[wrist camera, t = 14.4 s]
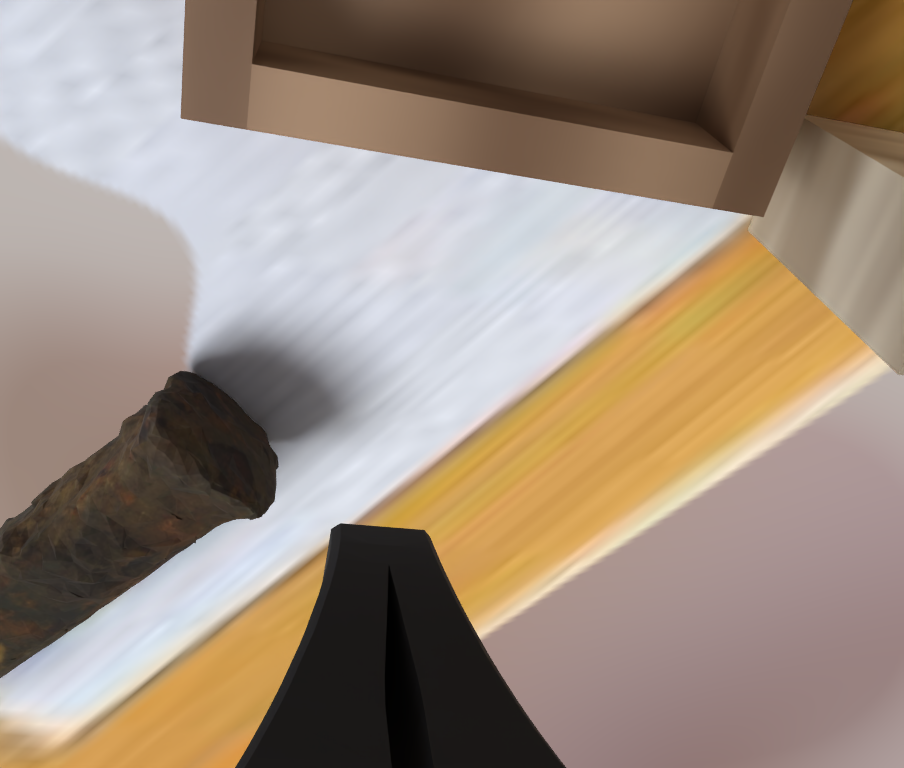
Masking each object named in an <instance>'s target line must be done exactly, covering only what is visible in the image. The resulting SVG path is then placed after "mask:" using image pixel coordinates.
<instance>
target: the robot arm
mask: <svg viewBox="0 0 904 768" xmlns="http://www.w3.org/2000/svg"><path fill="white" fill-rule="evenodd" d="M235 768H566V767H565V765H563V763H562V762H561V761H560V759H559V758H558V757H557V755H556V754H555V753H554V751H553V750H552V749H551V747H550V746H549V745H548V743H547V742H546V741H545V739H544V738H543V737H542V735H541V734H540V733H539V731H538V730H537V728H536V727H535V726H534V724H533V723H532V721H531V720H530V719H529V717H528V716H527V714H526V713H525V711H524V710H523V708H522V707H521V705H520V704H519V703H518V701H517V699H516V698H515V696H514V695H513V693H512V691H511V690H510V688H509V687H508V685H507V684H506V682H505V681H504V679H503V678H502V676H501V674H500V673H499V671H498V670H497V668H496V666H495V665H494V663H493V661H492V660H491V658H490V656H489V654H488V653H487V651H486V649H485V647H484V646H483V644H482V642H481V640H480V639H479V637H478V635H477V633H476V631H475V630H474V628H473V626H472V624H471V622H470V621H469V619H468V617H467V615H466V613H465V611H464V609H463V607H462V606H461V604H460V602H459V600H458V598H457V596H456V594H455V592H454V590H453V588H452V586H451V583H450V581H449V579H448V577H447V575H446V573H445V571H444V569H443V566H442V564H441V562H440V560H439V557H438V555H437V553H436V550H435V548H434V546H433V543H432V541H431V538H430V536H429V535H428V534H427V533H426V532H425V530H416V529H404V528H391V527H378V526H366V525H353V524H341V523H340V524H339V525H337V526H335V527H334V528H332V529H331V534H330V540H329V546H328V552H327V558H326V564H325V570H324V577H323V582H322V586H321V589H320V592H319V596H318V598H317V601H316V604H315V606H314V609H313V612H312V614H311V617H310V620H309V622H308V625H307V628H306V631H305V633H304V636H303V638H302V640H301V643H300V645H299V647H298V649H297V651H296V654H295V656H294V658H293V660H292V662H291V664H290V667H289V669H288V671H287V673H286V675H285V677H284V680H283V682H282V684H281V686H280V688H279V690H278V692H277V694H276V696H275V698H274V700H273V702H272V704H271V706H270V708H269V709H268V711H267V713H266V715H265V717H264V719H263V721H262V723H261V724H260V726H259V728H258V730H257V731H256V733H255V735H254V737H253V739H252V740H251V742H250V744H249V746H248V747H247V749H246V751H245V752H244V754H243V756H242V757H241V759H240V761H239V762H238V764H237V766H236V767H235Z"/></svg>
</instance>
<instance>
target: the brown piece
mask: <svg viewBox="0 0 904 768" xmlns="http://www.w3.org/2000/svg"><path fill="white" fill-rule="evenodd" d="M852 2H853V0H185V22H184V48H183V73H182V99H181V119H187V120H193V121H199V122H205V123H211V124H217V125H223V126H229V127H235V128H240V129H246V130H252V131H258V132H264V133H270V134H276V135H282V136H288V137H293V138H299V139H305V140H311V141H317V142H323V143H329V144H335V145H341V146H347V147H352V148H358V149H364V150H370V151H376V152H382V153H388V154H394V155H400V156H405V157H411V158H417V159H423V160H429V161H435V162H441V163H447V164H453V165H459V166H464V167H470V168H476V169H482V170H488V171H494V172H500V173H506V174H512V175H517V176H523V177H529V178H535V179H541V180H547V181H553V182H559V183H565V184H570V185H576V186H582V187H588V188H594V189H600V190H606V191H612V192H618V193H624V194H629V195H635V196H641V197H647V198H653V199H659V200H665V201H671V202H677V203H682V204H688V205H694V206H700V207H706V208H712V209H718V210H724V211H730V212H736V213H741V214H747V215H753V216H759V217H764V215H765V213H766V210H767V208H768V205H769V203H770V201H771V198H772V196H773V193H774V191H775V188H776V186H777V184H778V181H779V179H780V176H781V174H782V172H783V169H784V167H785V164H786V162H787V159H788V157H789V155H790V152H791V150H792V147H793V145H794V142H795V140H796V138H797V135H798V133H799V130H800V128H801V125H802V123H803V121H804V118H805V116H806V113H807V111H808V108H809V106H810V104H811V101H812V99H813V96H814V94H815V91H816V89H817V87H818V84H819V82H820V79H821V77H822V74H823V72H824V70H825V67H826V65H827V62H828V60H829V57H830V55H831V53H832V50H833V48H834V45H835V43H836V40H837V38H838V36H839V33H840V31H841V28H842V26H843V23H844V21H845V19H846V16H847V14H848V11H849V9H850V7H851V4H852Z"/></svg>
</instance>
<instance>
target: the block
mask: <svg viewBox="0 0 904 768" xmlns="http://www.w3.org/2000/svg"><path fill="white" fill-rule="evenodd" d="M748 231H749V232H750V233H751V234H752V235H753V236H754V237H755V238H756V239H757V240H758V241H759V242H760V243H761V244H762V245H763V246H764V247H765V248H766V249H768V250H769V251H770V252H771V253H772V254H773V255H774V256H775V257H776V258H777V259H778V260H779V261H780V262H781V263H782V264H783V265H784V266H785V267H786V268H787V269H788V270H789V271H790V272H791V273H793V274H794V275H795V276H796V277H797V278H798V279H799V280H800V281H801V282H802V283H803V284H804V285H805V286H806V287H807V288H808V289H809V290H810V291H811V292H812V293H813V294H814V295H815V296H817V297H818V298H819V299H820V300H821V301H822V302H823V303H824V304H825V305H826V306H827V307H828V308H829V309H830V310H831V311H832V312H833V313H834V314H835V315H836V316H837V317H838V318H839V319H840V320H842V321H843V322H844V323H845V324H846V325H847V326H848V327H849V328H850V329H851V330H852V331H853V332H854V333H855V334H856V335H857V336H858V337H859V338H860V339H861V340H862V341H863V342H864V343H865V344H867V345H868V346H869V347H870V348H871V349H872V350H873V351H874V352H875V353H876V354H877V355H878V356H879V357H880V358H881V359H882V360H883V361H884V362H885V363H886V364H887V365H888V366H889V367H891V368H892V369H893V370H894V371H895V372H896V373H897V374H899V375H904V133H902V132H896V131H891V130H886V129H880V128H875V127H870V126H864V125H859V124H854V123H849V122H843V121H838V120H833V119H827V118H822V117H817V116H811V115H806V116H805V118H804V121H803V123H802V125H801V128H800V130H799V133H798V135H797V138H796V140H795V142H794V145H793V147H792V150H791V152H790V155H789V157H788V159H787V162H786V164H785V167H784V169H783V172H782V174H781V176H780V179H779V181H778V184H777V186H776V188H775V191H774V193H773V196H772V198H771V201H770V203H769V205H768V208H767V210H766V213H765V215H764V217H759V216H753V218H752V221H751V223H750V226H749V228H748Z"/></svg>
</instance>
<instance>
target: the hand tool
mask: <svg viewBox="0 0 904 768" xmlns="http://www.w3.org/2000/svg"><path fill="white" fill-rule="evenodd" d="M278 467H279V466H278V457H277V455H276V454H275V452H274V451H273V450H272V448H271V447H270V445H269V442H268V439H267V435H266V433H265V431H264V430H263V429H262V428H261V427H260V426H259V425H258V424H256V423H255V422H254V421H252V420H251V419H250V417H249V416H248V415H247V414H245V412H244V411H243V410H242V408H241V407H240V406H239V405H238V404H237V403H236V402H235V401H234V400H233V399H232V398H231V397H229V396H228V395H227V394H225V393H224V392H223V391H222V390H220V389H219V388H218V387H216V386H215V385H214V384H212V383H210V382H208V381H206V380H204V379H203V378H201V377H200V376H198V375H197V374H194V373H191V372H186V371H180V372H178V373H176V374H174V375H172V376H170V377H169V378H168V380H167V383H166V385H165V388H164V390H161V391H159V392H156V393H155V394H154V395H153V397H152V398H151V399H150V401H149V402H148V405H145V406H144V407H143V408H142V409H140V410H139V412H137V413H136V414H134V415H132V416H130V417H128V418H127V419H125V420H124V421H123V423H122V426H121V430H120V433H119V436H118V437H116V438H115V439H113V440H112V441H111V442H109V443H108V444H107V445H105V446H104V447H103V448H101V449H100V450H98V451H97V452H96V453H94V454H93V455H91V456H90V457H89V458H88V459H87V460H86V461H84V462H82V463H80V464H78V465H76V466H74V467H72V468H71V469H69V470H68V471H67V473H66V474H64V476H63V477H62V478H60V479H58V480H57V481H55V482H53V483H52V484H51V485H49V486H48V487H47V488H46V489H45V490H44V491H43V492H42V493H41V494H39V495H38V496H37V497H36V498H35V499H34V500H33V501H32V505H31V506H30V507H29V508H27V509H26V510H25V511H24V512H22V513H21V514H19V515H18V516H16V517H15V518H9V519H7V520H6V521H5V523H4V524H3V526H2V527H1V528H0V678H1V677H3V676H4V675H6V674H7V673H8V672H10V671H11V670H13V669H14V668H16V667H17V666H18V665H20V664H21V663H23V662H24V661H26V660H27V659H29V658H30V657H32V656H33V655H34V654H36V653H37V652H39V651H40V650H42V649H44V648H45V647H47V646H49V645H50V644H52V643H53V642H55V641H56V640H57V639H59V638H60V637H62V636H63V635H64V634H66V633H67V632H69V631H70V630H72V629H73V628H74V627H76V626H77V625H79V624H80V623H82V622H84V621H85V620H87V619H88V618H89V617H91V616H92V615H93V614H94V613H95V612H96V611H98V610H99V609H101V608H102V607H104V606H105V605H107V604H109V603H110V602H112V601H113V600H114V599H116V598H117V597H119V596H120V595H121V594H123V593H124V592H126V591H127V590H128V589H130V588H131V587H133V586H134V585H136V584H137V583H139V582H140V581H142V580H143V579H144V578H146V577H147V576H149V575H150V574H151V573H153V572H154V571H155V570H157V569H158V568H159V567H160V566H162V565H163V564H164V563H166V562H167V561H168V560H170V559H171V558H172V557H174V556H175V555H176V554H178V553H179V552H181V551H183V550H184V549H186V548H188V547H189V546H190V545H191V544H193V543H196V540H197V539H199V538H202V537H203V536H204V535H206V534H207V533H208V532H210V531H211V530H213V529H214V528H215V527H217V526H219V525H221V524H223V523H226V522H229V521H232V520H236V519H250V520H253V519H256V518H259V517H262V515H263V514H265V513H266V511H267V510H268V509H269V507H270V505H271V504H272V503H273V502H274V500H275V492H276V469H277V468H278Z"/></svg>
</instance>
